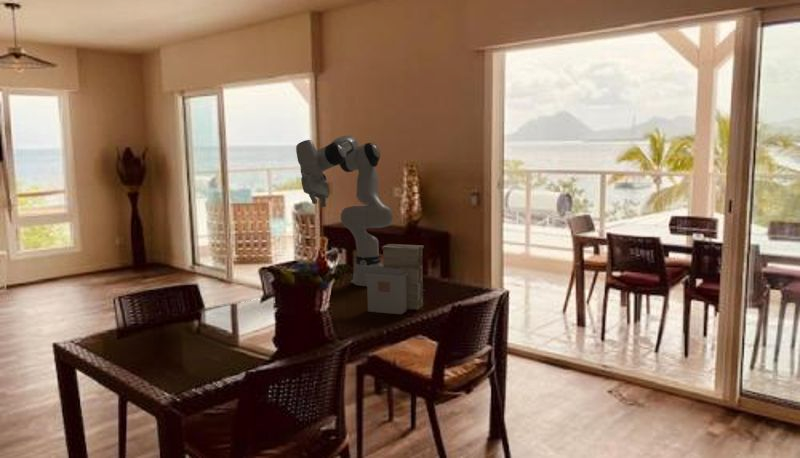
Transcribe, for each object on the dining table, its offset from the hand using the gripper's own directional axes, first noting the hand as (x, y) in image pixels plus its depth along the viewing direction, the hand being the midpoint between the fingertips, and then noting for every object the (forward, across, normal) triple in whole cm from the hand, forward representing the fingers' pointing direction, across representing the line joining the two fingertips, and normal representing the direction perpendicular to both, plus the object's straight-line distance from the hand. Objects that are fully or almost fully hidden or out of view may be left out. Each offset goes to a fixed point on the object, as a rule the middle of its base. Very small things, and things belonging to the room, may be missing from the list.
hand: (319, 205), depth 262 cm
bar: (+36, -1, -19) cm, 40 cm away
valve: (+49, +23, -22) cm, 58 cm away
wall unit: (+51, +12, -22) cm, 57 cm away
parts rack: (+52, +3, -16) cm, 54 cm away
